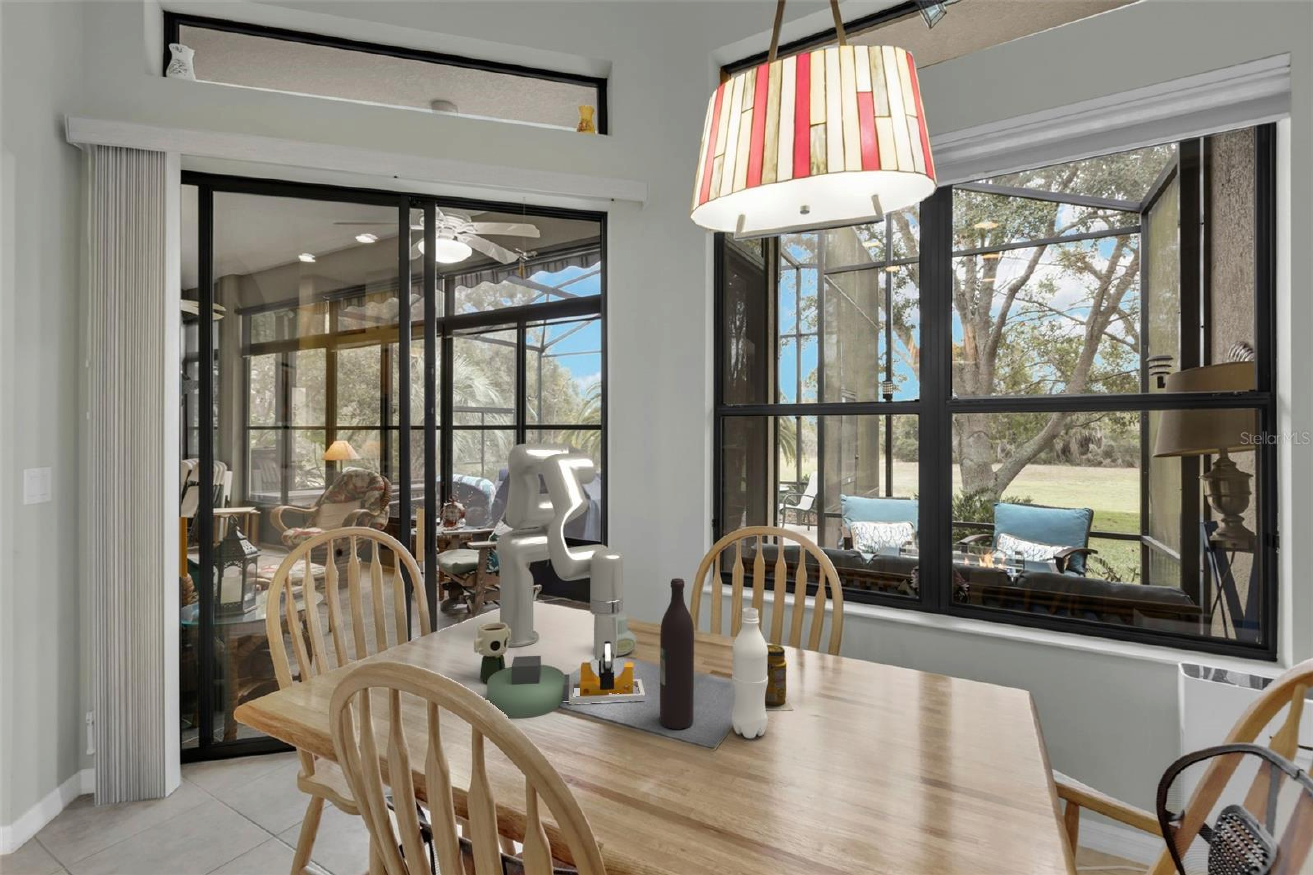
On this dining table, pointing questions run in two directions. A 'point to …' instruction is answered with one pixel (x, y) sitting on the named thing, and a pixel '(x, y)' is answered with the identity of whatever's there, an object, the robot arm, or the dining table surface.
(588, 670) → the pipe clamp
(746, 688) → the water bottle
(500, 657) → the character mug
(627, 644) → the air freshener
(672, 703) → the wine bottle
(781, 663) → the condiment
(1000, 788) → the dining table surface
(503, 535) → the robot arm
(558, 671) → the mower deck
